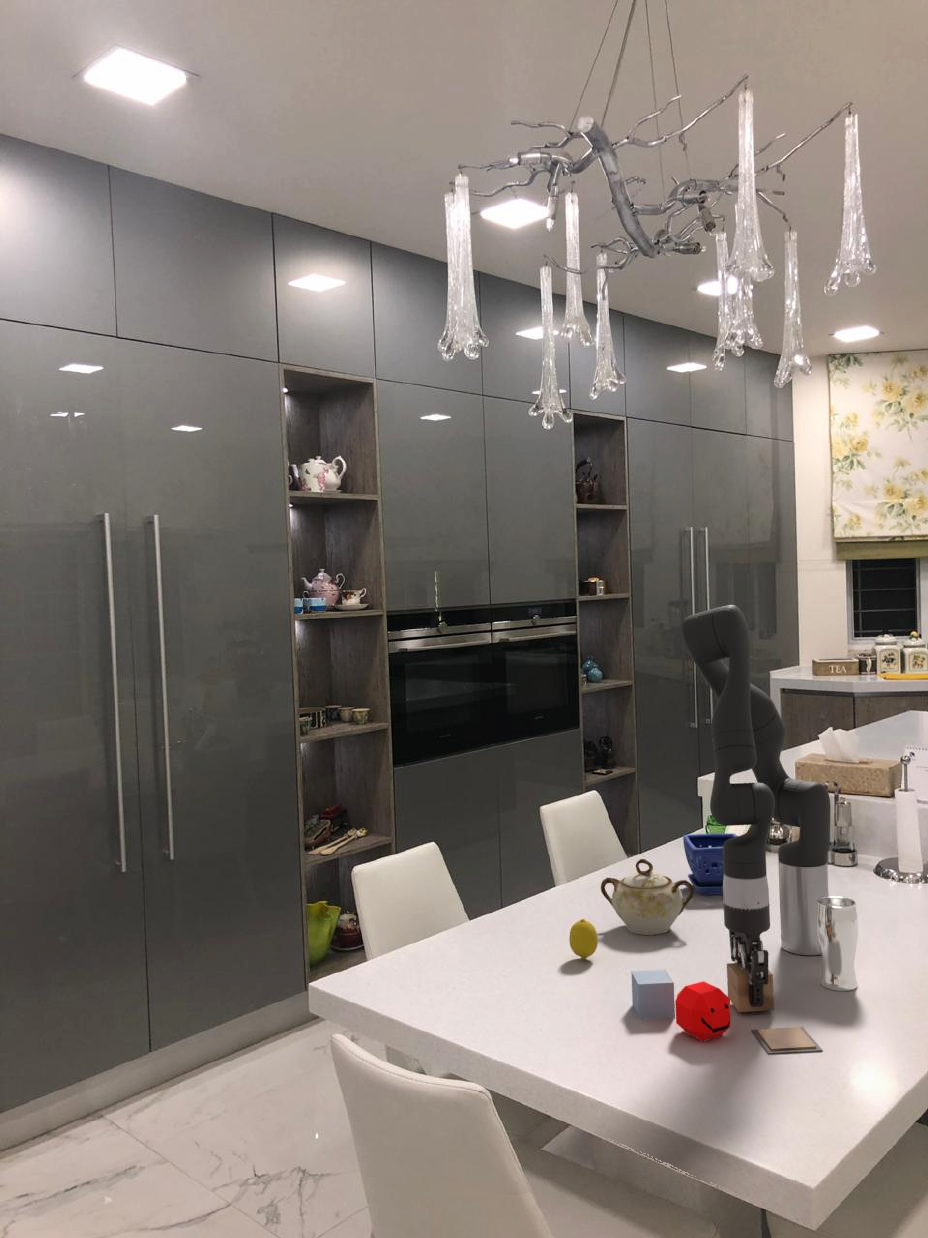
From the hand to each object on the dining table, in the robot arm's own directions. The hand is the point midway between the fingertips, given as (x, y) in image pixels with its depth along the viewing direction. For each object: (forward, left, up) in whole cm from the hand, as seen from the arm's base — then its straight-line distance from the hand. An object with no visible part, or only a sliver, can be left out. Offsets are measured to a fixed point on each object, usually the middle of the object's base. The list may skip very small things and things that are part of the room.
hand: (750, 997), depth 172 cm
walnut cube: (0, 0, -1) cm, 1 cm away
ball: (+10, +9, -2) cm, 14 cm away
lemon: (+24, -27, -2) cm, 37 cm away
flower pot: (-14, -69, -2) cm, 70 cm away
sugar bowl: (+8, -43, -2) cm, 44 cm away
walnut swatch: (-2, +13, -2) cm, 13 cm away
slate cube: (+16, -1, -2) cm, 17 cm away
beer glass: (-19, -8, -2) cm, 20 cm away
